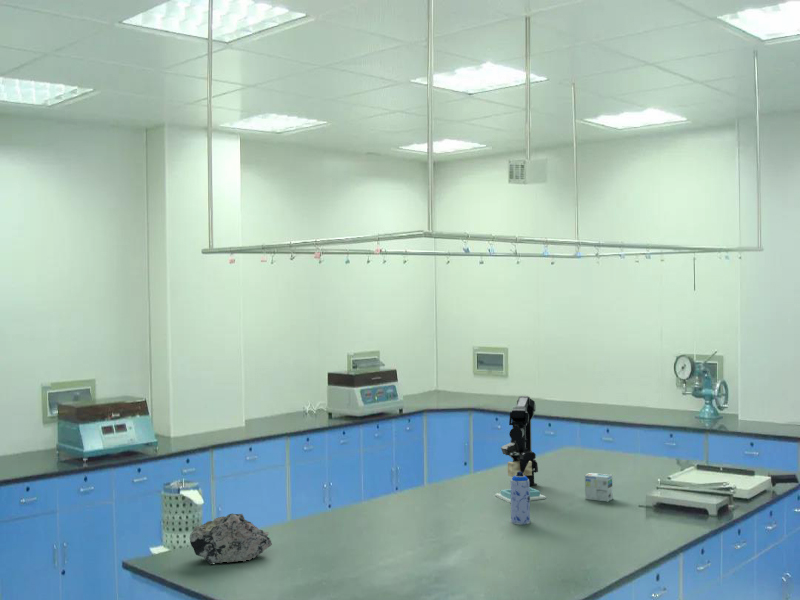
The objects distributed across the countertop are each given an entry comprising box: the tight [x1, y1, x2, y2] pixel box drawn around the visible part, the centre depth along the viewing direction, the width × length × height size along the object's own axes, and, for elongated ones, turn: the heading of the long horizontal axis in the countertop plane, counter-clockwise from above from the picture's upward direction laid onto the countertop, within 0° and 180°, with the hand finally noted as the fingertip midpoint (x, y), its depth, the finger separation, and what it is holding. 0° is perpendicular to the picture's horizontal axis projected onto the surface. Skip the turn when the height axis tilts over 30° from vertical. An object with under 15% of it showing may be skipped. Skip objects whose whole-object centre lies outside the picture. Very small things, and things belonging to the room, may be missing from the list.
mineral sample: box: [189, 513, 273, 565], centre depth 292 cm, size 27×19×15 cm
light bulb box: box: [584, 472, 614, 502], centre depth 368 cm, size 11×7×11 cm, turn 58°
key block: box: [507, 460, 532, 478], centre depth 373 cm, size 10×4×6 cm, turn 111°
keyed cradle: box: [494, 486, 547, 504], centre depth 373 cm, size 14×18×3 cm
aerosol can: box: [510, 471, 531, 526], centre depth 333 cm, size 8×8×20 cm
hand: (519, 471), depth 373 cm, fingers closed on key block, 4 cm apart
